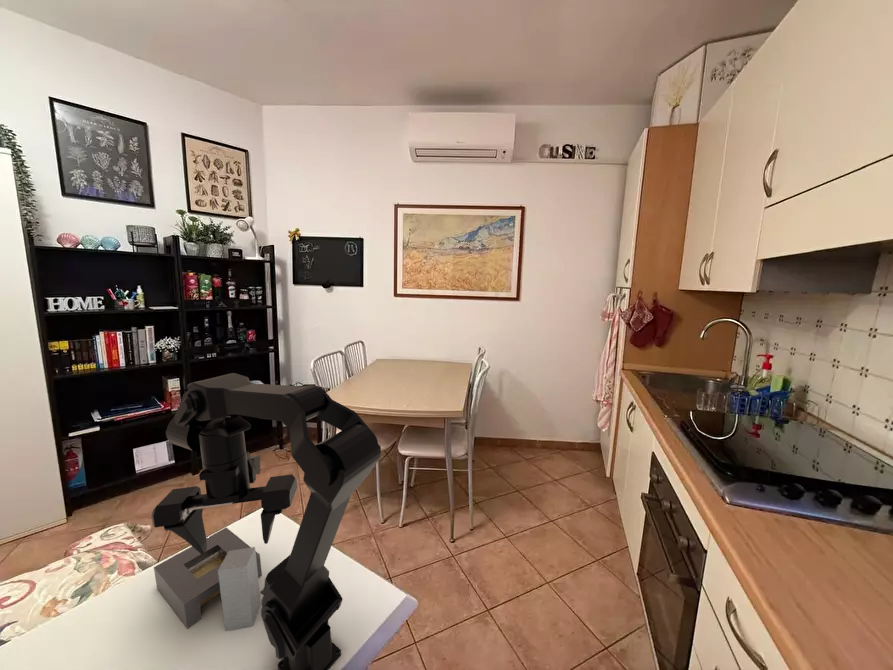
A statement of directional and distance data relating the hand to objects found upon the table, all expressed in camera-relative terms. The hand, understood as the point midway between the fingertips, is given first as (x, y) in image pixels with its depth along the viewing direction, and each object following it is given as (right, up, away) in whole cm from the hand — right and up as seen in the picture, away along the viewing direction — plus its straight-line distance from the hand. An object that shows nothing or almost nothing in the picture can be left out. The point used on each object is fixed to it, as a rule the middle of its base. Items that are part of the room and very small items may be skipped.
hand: (236, 546), depth 55 cm
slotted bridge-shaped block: (-10, -12, +8) cm, 17 cm away
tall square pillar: (0, -13, +2) cm, 13 cm away
